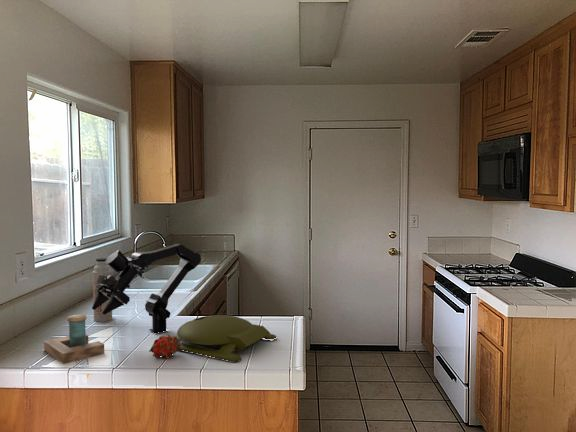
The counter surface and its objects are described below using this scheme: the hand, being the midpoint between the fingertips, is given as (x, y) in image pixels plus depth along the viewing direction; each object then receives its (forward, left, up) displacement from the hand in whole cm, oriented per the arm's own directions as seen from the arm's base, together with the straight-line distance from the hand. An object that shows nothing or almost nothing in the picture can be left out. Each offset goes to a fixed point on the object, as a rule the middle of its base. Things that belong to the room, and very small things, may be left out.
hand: (97, 311), depth 189 cm
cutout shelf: (-1, +9, -13) cm, 16 cm away
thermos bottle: (+36, -12, -14) cm, 40 cm away
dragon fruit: (-26, -16, -14) cm, 34 cm away
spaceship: (-25, -40, -14) cm, 49 cm away
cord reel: (-1, +8, -13) cm, 16 cm away
